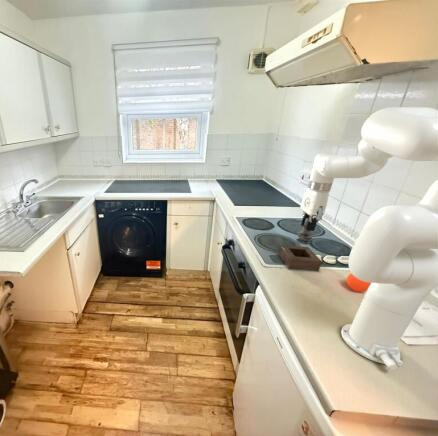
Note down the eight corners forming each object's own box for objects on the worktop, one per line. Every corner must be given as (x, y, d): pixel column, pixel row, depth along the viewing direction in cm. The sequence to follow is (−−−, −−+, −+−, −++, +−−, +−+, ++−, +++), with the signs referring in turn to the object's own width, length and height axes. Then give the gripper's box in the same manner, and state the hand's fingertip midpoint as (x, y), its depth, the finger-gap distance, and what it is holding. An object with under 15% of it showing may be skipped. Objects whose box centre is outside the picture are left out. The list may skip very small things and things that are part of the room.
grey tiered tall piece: (305, 238, 105) (312, 213, 101) (314, 244, 100) (322, 218, 95) (292, 238, 105) (299, 213, 100) (300, 245, 100) (308, 218, 95)
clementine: (342, 280, 95) (347, 265, 92) (364, 285, 92) (371, 270, 89) (345, 291, 89) (351, 275, 86) (369, 298, 85) (376, 282, 83)
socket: (318, 271, 100) (322, 261, 98) (288, 269, 102) (291, 259, 100) (305, 256, 111) (308, 247, 109) (278, 254, 113) (280, 245, 111)
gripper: (299, 180, 101) (289, 220, 108) (320, 191, 86) (306, 236, 93) (318, 181, 100) (307, 220, 107) (342, 192, 85) (327, 237, 92)
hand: (307, 227), depth 100 cm, fingers closed on grey tiered tall piece, 3 cm apart
